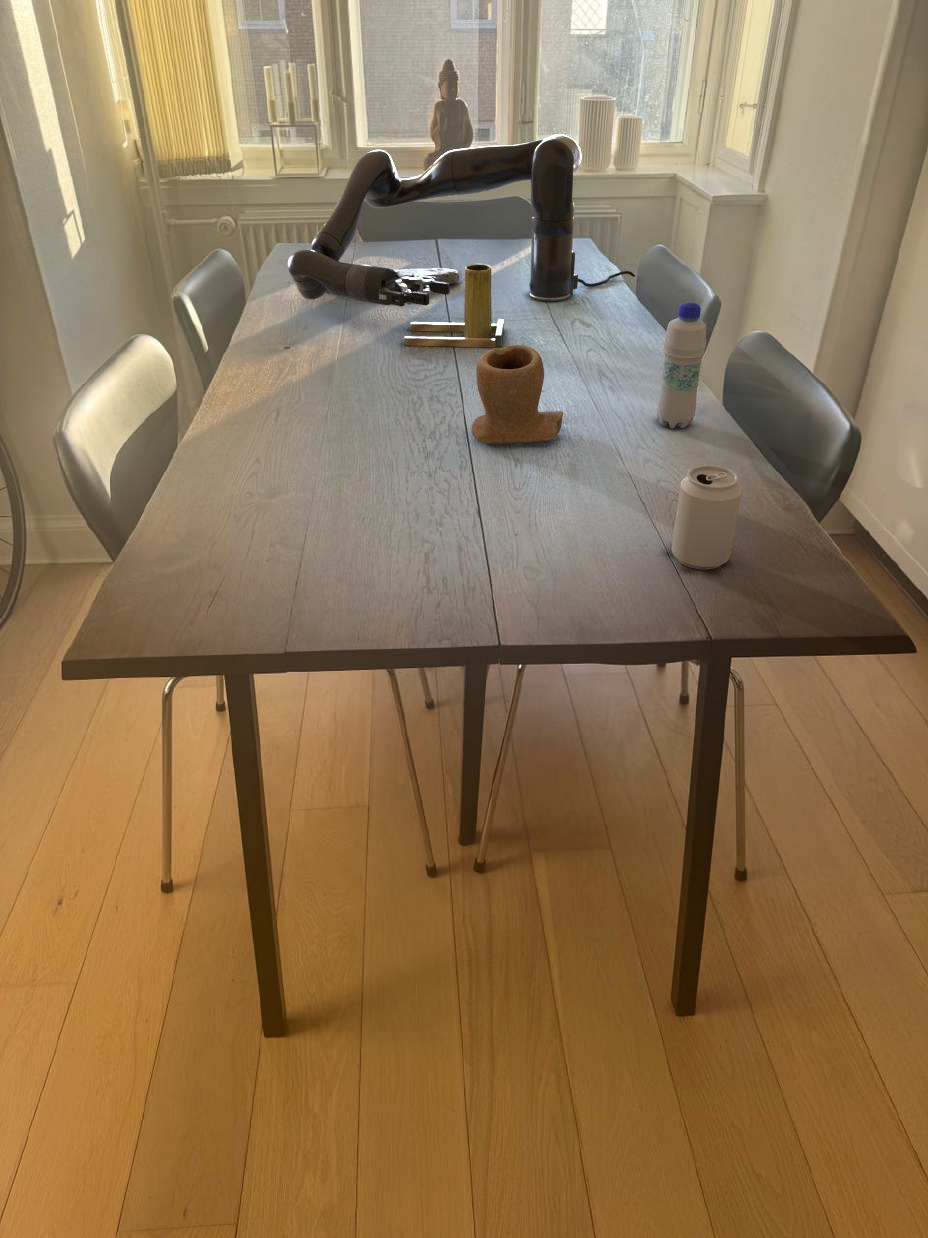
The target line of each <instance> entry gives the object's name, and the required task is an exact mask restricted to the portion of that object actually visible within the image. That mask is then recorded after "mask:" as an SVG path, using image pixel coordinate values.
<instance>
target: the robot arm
mask: <svg viewBox="0 0 928 1238" xmlns="http://www.w3.org/2000/svg"><path fill="white" fill-rule="evenodd" d="M581 162H582V151H581V148H580V146H579V144H578V143H577V141H576V140H574V139H573V138H571V137H570V136H567V135H565V134H554V135H551V136H548V137H545V138H540V139H537V140H534V141H529V142H526V143H520V144H513V145H486V146H477V147H465V148H459V149H452V150H448V151H447V152H445V153H443V154H441V156H440V157H438V159H436V160H435V161H434V162H433V163H432V164H431V165H430V166H429V167H428V168H427V169H426V170H425V171H423V172H422V173H421V174H419V175H416V176H413V177H408V178H400V176H399V174H398V171H397V169H396V166H395V164H394V161H393V158H392V157H391V155H390V154H389V153H388V152H387V151H386V150H382V149H375V150H371V151H368V152H367V153H365V154H363V155H362V156H361V157H360V158H359V159H358V160H357V162H356V163H355V165H354V166H353V169H352V171H351V173H350V175H349V177H348V180H347V181H346V183H345V184H344V187H343V189H342V192H341V194H340V195H339V198H338V200H337V203H336V204H335V207H334V208H333V210H332V212H331V213H330V215H329V216H328V218H327V220H326V221H325V223H323V225H322V226H321V228H320V229H319V231H318V232H317V233H316V235H315V236H314V238H313V239H312V241H311V249H299V250H297V251H294V252H293V253H292V254H291V255H290V256H289V258H288V260H287V270H288V272H289V275H290V276H291V279H292V280H293V282H294V285H295V287H296V288H297V291H298V292H299V294H300V295H301V296H302V297H303V298H304V299H306V300H309V301H312V300H317V299H319V298H321V297H323V296H324V295H325V294H326V293H327V292H329V294H331V295H333V296H335V297H340V298H346V299H350V300H351V299H353V300H355V301H358V302H363V303H369V304H376V305H382V306H391V305H392V306H396V307H402V308H403V307H404V306H405V305H412V304H414V305H420V306H428V305H430V293H431V294H439V295H446V296H447V295H449V294H450V293H451V286H450V285H451V284H449V283H444V282H437V281H436V277H432V276H423V275H415V274H411V275H410V278H409V277H401V279H400V278H399V276H398V274H397V272H396V271H395V270H396V269H394V268H392V267H388V266H387V267H386V266H379V265H373V264H367V263H366V264H365V263H363V264H361V263H360V264H359V263H358V264H357V263H355V264H354V263H349V262H341V261H340V260H341V258H342V257H343V256H344V254H345V253H346V252H347V250H348V249H349V248H350V246H351V244H352V243H353V241H354V240H355V237H356V234H357V232H358V228H359V223H360V218H361V213H362V210H363V205H364V202H366V204H368V206H369V207H371V208H372V209H373V208H374V209H387V208H393V207H398V206H401V205H406V204H410V203H414V202H418V201H419V202H420V201H423V200H429V199H430V200H431V199H436V198H443V197H451V196H452V197H453V196H462V195H463V196H464V195H471V194H472V195H473V194H479V193H482V192H483V193H484V192H488V191H492V190H495V189H498V188H501V187H504V186H507V185H510V184H513V183H518V182H523V181H530V204H531V208H532V217H531V219H532V220H531V246H530V247H531V249H530V275H529V284H528V288H529V293H528V295H529V297H530V298H531V299H533V300H537V301H542V302H560V301H565V300H567V299H569V298H570V297H571V296H573V295H574V290H578V283H581V284H582V285H583V286H584V287H589V288H592V287H593V288H594V287H598V286H602V285H604V284H607V283H608V282H610V280H611V279H614V278H617V277H620V276H622V275H629V276H631V277H633V278H634V277H636V274H635V273H634V272H632V271H630V270H623V271H619V272H616V273H614V274H610V275H609V276H607V278H606V279H605V280H602V281H599V282H594V283H593V282H592V283H587V282H586V281H585V280H583V279H582V278H579V275H578V274H576V273H575V265H576V252H575V251H573V245H574V244H573V243H574V227H575V226H574V225H575V213H576V212H575V211H576V210H575V209H576V208H575V203H574V199H573V198H574V197H573V191H574V175H575V174H576V172H577V170H578V169H579V166H580V164H581ZM426 283H429V285H427V284H426ZM418 289H419V290H418Z"/></svg>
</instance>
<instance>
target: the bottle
mask: <svg viewBox="0 0 928 1238" xmlns="http://www.w3.org/2000/svg"><path fill="white" fill-rule="evenodd" d="M701 310H702V308H701V306H700V304H698V303H696V302H692V301H691V302H683V303H681V304H680V306H679V308H678V314H677V318H674V319H672V320H670V321H669V322H668V324H667V328H666V332H665V336H664V340H663V348H662V351H663V355H664V357H663V366H662V374H661V382H660V390H659V395H658V400H657V405H656V406H657V407H656V418H657V421H659V424H660V425H661V426H663V427H666V426H667V425H669V428H670V429H675V427H676V425H677V424H679V428H680V429H684V428H687V426H690V425H691V424H692V423H693V422H694V418H695V415H696V408H697V397H698V395H697V394H698V386H699V380H700V373H701V365H702V359H703V357H704V355H705V353H706V351H705V349H706V347H707V324H706V323H705V322H704V321H702V320H700V318H701Z"/></svg>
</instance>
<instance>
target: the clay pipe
mask: <svg viewBox="0 0 928 1238" xmlns="http://www.w3.org/2000/svg"><path fill="white" fill-rule="evenodd" d="M475 373H476V387H477V391H478V394H479V397H480V401H481V403H482V405H483V408H484V414H483V415H480V416H478V417H476V418H475V419H474V421H473V422H472V424H471V428H470V429H471V435H472V436H473V437H474V438H475V439H477V441H478V442H481V443H485V444H500V445H501V444H526V443H541V442H542V443H543V442H544V443H545V442H552V441H556V440H557V438H558V436H559V433H560V431H561V428H562V424H563V417H564V411H561V410H558V411H539V405H540V399H541V394H542V391H543V385H544V382H545V367H544V361H543V359H542V356H541V355H540V353H539V352H538V351H537V350H536V349H534V348H533V347H530V346H529V345H523V344H509V345H507V346H504V347H501V348H496V347H495V348H492V349H490V350H487V351H486V352H484V354H482V355H481V356H480V357H479V359H478V361H477V363H476V372H475Z"/></svg>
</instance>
